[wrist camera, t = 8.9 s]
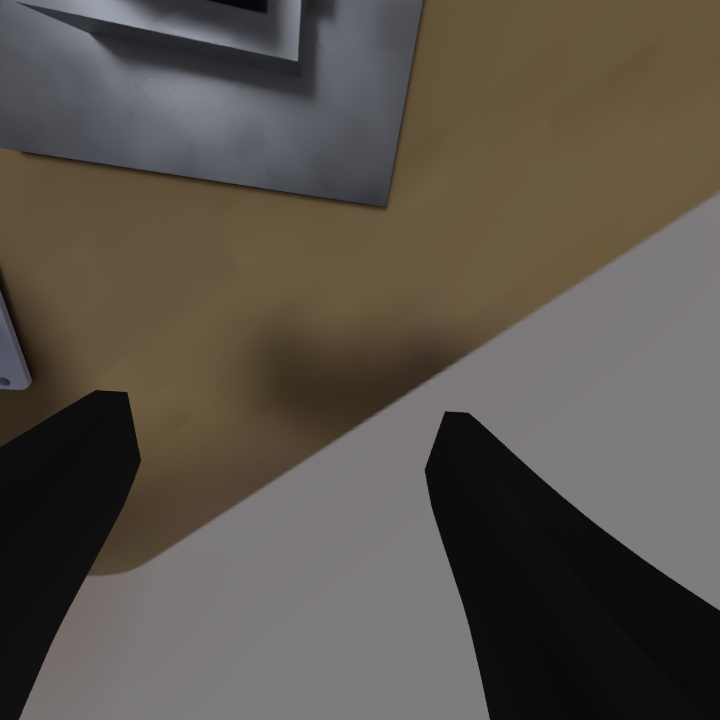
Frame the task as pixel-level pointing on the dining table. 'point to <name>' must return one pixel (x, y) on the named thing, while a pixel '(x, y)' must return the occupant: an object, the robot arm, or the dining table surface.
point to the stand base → (214, 88)
